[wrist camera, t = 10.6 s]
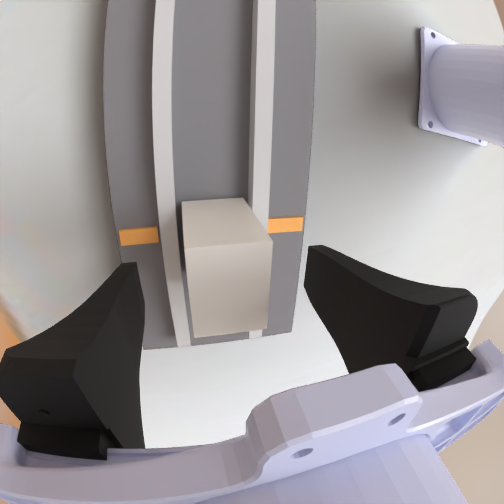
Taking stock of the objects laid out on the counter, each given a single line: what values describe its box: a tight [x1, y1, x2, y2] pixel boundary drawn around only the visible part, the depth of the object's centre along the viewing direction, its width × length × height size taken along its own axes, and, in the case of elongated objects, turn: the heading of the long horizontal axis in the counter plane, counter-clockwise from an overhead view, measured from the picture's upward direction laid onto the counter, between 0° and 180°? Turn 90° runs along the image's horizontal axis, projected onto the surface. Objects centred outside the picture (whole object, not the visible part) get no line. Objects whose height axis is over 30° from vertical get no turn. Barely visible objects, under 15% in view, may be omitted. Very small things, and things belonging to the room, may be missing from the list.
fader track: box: [103, 0, 316, 350], centre depth 12 cm, size 10×30×3 cm, turn 178°
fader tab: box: [182, 198, 273, 338], centre depth 13 cm, size 3×4×5 cm
